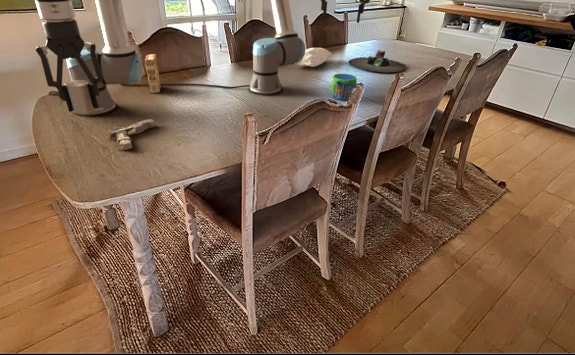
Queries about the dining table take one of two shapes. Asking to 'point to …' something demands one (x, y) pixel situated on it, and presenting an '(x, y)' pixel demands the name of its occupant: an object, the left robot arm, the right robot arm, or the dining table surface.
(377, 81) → the dining table surface
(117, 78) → the left robot arm
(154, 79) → the candy box
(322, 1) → the right robot arm
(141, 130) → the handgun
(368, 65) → the dark round tray
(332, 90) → the snack cup
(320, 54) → the cream pillow
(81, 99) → the tin
